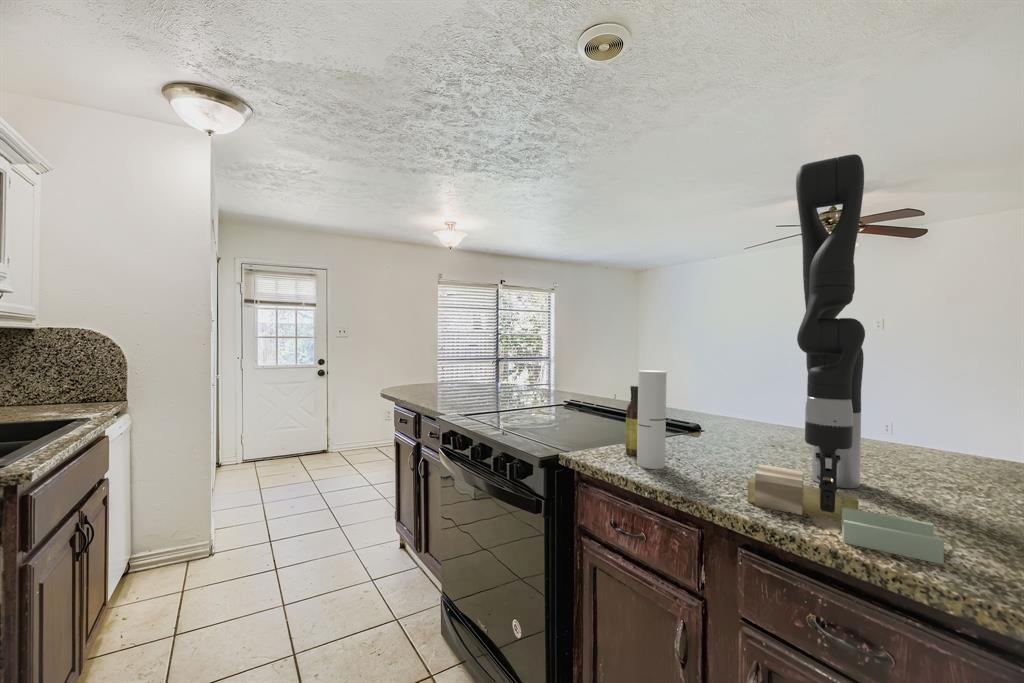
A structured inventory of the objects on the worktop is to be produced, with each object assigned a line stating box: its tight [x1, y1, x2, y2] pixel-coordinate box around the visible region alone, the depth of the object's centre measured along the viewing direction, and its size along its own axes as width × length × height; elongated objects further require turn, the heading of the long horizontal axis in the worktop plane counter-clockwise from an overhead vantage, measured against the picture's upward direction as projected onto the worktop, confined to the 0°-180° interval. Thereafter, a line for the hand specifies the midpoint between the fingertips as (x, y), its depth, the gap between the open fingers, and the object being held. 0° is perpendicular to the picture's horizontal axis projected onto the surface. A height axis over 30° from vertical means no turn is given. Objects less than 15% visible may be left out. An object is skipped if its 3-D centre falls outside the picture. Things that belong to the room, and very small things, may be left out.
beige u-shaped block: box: [754, 463, 804, 516], centre depth 90 cm, size 8×8×7 cm
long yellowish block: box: [747, 476, 859, 522], centre depth 88 cm, size 4×18×4 cm, turn 55°
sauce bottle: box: [624, 385, 638, 457], centre depth 129 cm, size 7×6×20 cm
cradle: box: [840, 507, 945, 565], centre depth 73 cm, size 8×12×4 cm, turn 55°
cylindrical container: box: [636, 369, 668, 470], centre depth 118 cm, size 7×7×25 cm
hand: (826, 504), depth 86 cm, fingers open, 8 cm apart
